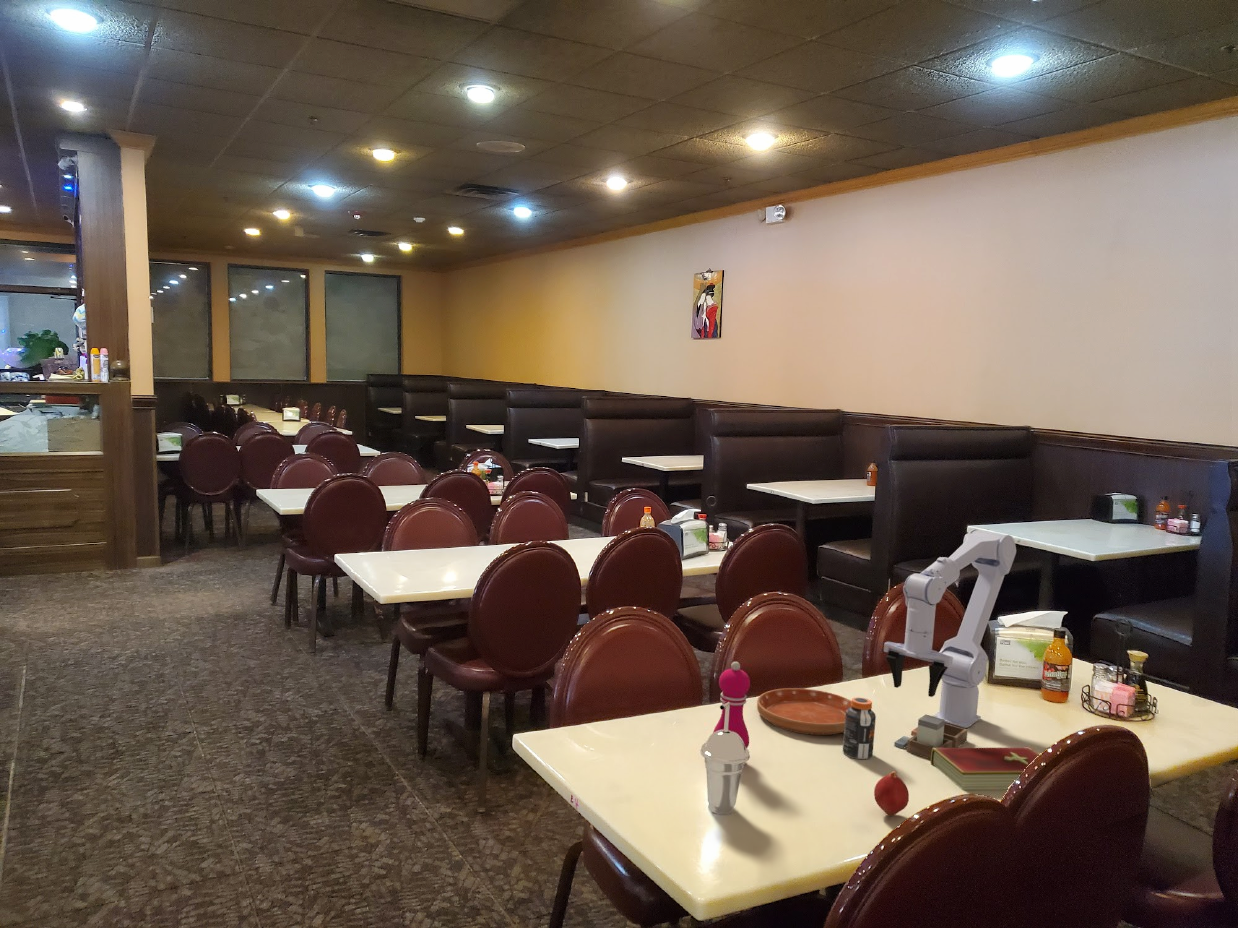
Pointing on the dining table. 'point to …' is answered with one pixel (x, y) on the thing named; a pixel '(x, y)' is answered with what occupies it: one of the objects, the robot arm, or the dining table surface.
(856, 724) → the pill bottle
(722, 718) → the pepper mill
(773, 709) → the saucer
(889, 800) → the onion
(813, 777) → the dining table surface
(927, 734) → the plug
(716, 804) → the cup with straw
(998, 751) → the hardcover book
